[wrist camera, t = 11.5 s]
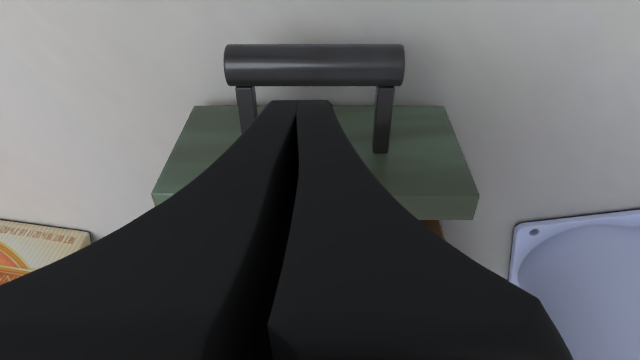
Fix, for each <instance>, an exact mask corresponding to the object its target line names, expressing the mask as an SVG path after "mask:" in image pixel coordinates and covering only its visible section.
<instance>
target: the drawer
mask: <svg viewBox="0 0 640 360" xmlns="http://www.w3.org/2000/svg"><path fill="white" fill-rule="evenodd" d="M404 70H405V51H404V47H403V45H402V44H229V45H227V46H226V47H225V51H224V73H225V78H226V81H227V84H228V85H229V86H236V88H235V90H236V97H237V104H238V106H194V108H193V110H192V112H191V114H190V116H189V118H188V120H187V122H186V124H185V126H184V128H183V130H182V132H181V134H180V136H179V138H178V140H177V142H176V144H175V146H174V148H173V150H172V152H171V154H170V156H169V158H168V160H167V162H166V164H165V167H164V169H163V171H162V173H161V175H160V177H159V179H158V181H157V183H156V185H155V187H154V189H153V191H152V193H151V195H152V198H153V201H154V204H155V207H156V206H157V205H159V204H161V203H162V202H164V201H165V200H167V199H168V198H170V197H171V196H172V195H174V194H175V193H177V192H178V191H179V190H181V189H182V188H183V187H185V186H186V185H187V184H189V183H190V182H191V181H193V180H194V179H195V178H196V177H198V176H199V175H200V174H201V173H202V172H204V171H205V170H206V169H207V168H208V167H209V166H210V165H211V164H212V163H214V162H215V161H216V160H217V159H218V158H219V157H220V156H221V155H222V154H223V153H224V152H225V151H226V150H227V149H228V148H229V147H230V146H231V145H232V144H233V143H234V142H235V141H236V140H237V139H238V138H239V137H240V136H241V135H242V133H243V132H244V131H245V130H246V129H247V128H248V127H249V126H250V125H251V123H252V122H253V121H254V120H255V119H256V118H257V117H258V115H259V114H260V113H261V112H262V111H263V109H264V108H265V107H266V106H257V103H256V94H255V86H376V96H375V106H333V109H334V112H335V115H336V117H337V119H338V121H339V123H340V125H341V127H342V129H343V131H344V133H345V134H346V136H347V138H348V139H349V141H350V142H351V144H352V146H353V147H354V149H355V150H356V152H357V153H358V155H359V156H360V157H361V159H362V160H363V162H364V163H365V164H366V166H367V167H368V168H369V169H370V171H371V172H372V173H373V174H374V176H375V177H376V178H377V179H378V180H379V182H380V183H381V184H382V185H383V186H384V187H385V188H386V189H387V190H388V191H389V193H390V194H391V195H392V196H393V197H394V198H395V199H396V200H397V201H398V202H399V203H400V204H401V205H402V206H403V207H405V208H406V209H407V210H408V211H409V212H410V213H411V214H412V215H413V216H415V217H416V218H417V219H418V220H419V221H421V222H422V223H423V224H424V225H426V226H427V227H428V228H429V229H430V230H432V231H433V232H434V233H435V234H437V235H438V236H439V237H441V238H442V239H443V240H445V238H444V234H443V231H442V227H441V223H440V220H473V217H474V214H475V210H476V207H477V203H478V199H479V193H478V190H477V188H476V185H475V183H474V180H473V178H472V175H471V173H470V170H469V168H468V165H467V163H466V161H465V158H464V156H463V153H462V151H461V148H460V146H459V143H458V141H457V138H456V136H455V133H454V131H453V128H452V126H451V123H450V121H449V118H448V116H447V113H446V111H445V108H444V107H443V106H393V100H394V91H395V88H394V86H401V85H402V82H403V78H404Z"/></svg>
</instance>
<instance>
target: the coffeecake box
mask: <svg viewBox="0 0 640 360" xmlns="http://www.w3.org/2000/svg"><path fill="white" fill-rule="evenodd" d="M90 244H91V240H90V234H89V233H88V232H83V231H77V230H69V229H62V228H55V227H47V226H40V225H33V224H26V223H19V222H11V221H4V220H0V285H2V284H4V283H7V282H9V281H11V280H14V279H16V278H18V277H21V276H23V275H25V274H28V273H30V272H32V271H35V270H37V269H39V268H42V267H44V266H46V265H49V264H51V263H53V262H55V261H57V260H60V259H62V258H64V257H66V256H68V255H70V254H72V253H74V252H76V251H78V250H80V249H82V248H84V247H86V246H88V245H90Z"/></svg>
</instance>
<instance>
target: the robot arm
mask: <svg viewBox="0 0 640 360" xmlns="http://www.w3.org/2000/svg"><path fill="white" fill-rule="evenodd" d="M533 229H535V230H533ZM531 230H532V231H531ZM0 360H640V210H632V211H623V212H614V213H606V214H597V215H588V216H580V217H571V218H562V219H553V220H545V221H536V222H527V223H521V224H519V225H517V226H516V227H515V229H514V234H513V243H512V252H511V261H510V270H509V279H508V281H507V280H506V279H504V278H502V277H501V276H499V275H497V274H495V273H494V272H492V271H490V270H488V269H487V268H485V267H483V266H482V265H480V264H478V263H477V262H475V261H474V260H472V259H471V258H469V257H468V256H466V255H465V254H463V253H462V252H460V251H459V250H458V249H456V248H455V247H453V246H452V245H450V244H449V243H447V242H446V241H445V240H443V239H442V238H441V237H439V236H438V235H437V234H435V233H434V232H433V231H432V230H430V229H429V228H428V227H427V226H426V225H424V224H423V223H422V222H421V221H419V220H418V219H417V218H416V217H415V216H413V215H412V214H411V213H410V212H409V211H408V210H407V209H406V208H405V207H403V206H402V205H401V204H400V203H399V202H398V201H397V200H396V199H395V198H394V197H393V196H392V195H391V194H390V193H389V191H388V190H387V189H386V188H385V187H384V186H383V185H382V184H381V183H380V182H379V180H378V179H377V178H376V177H375V176H374V174H373V173H372V172H371V171H370V169H369V168H368V167H367V166H366V164H365V163H364V162H363V160H362V159H361V157H360V156H359V155H358V153H357V152H356V150H355V149H354V147H353V146H352V144H351V142H350V141H349V139H348V138H347V136H346V134H345V133H344V131H343V129H342V127H341V125H340V123H339V121H338V119H337V117H336V115H335V112H334V109H333V105H332V104H331V103H330V102H329V101H328V100H279V101H271V102H270V103H269V104H268V105H267V106H266V107H265V108H264V109H263V111H262V112H261V113H260V114H259V115H258V117H257V118H256V119H255V120H254V121H253V122H252V123H251V125H250V126H249V127H248V128H247V129H246V130H245V131H244V132H243V133H242V135H241V136H240V137H239V138H238V139H237V140H236V141H235V142H234V143H233V144H232V145H231V146H230V147H229V148H228V149H227V150H226V151H225V152H224V153H223V154H222V155H221V156H220V157H219V158H218V159H217V160H216V161H215V162H214V163H212V164H211V165H210V166H209V167H208V168H207V169H206V170H205V171H204V172H202V173H201V174H200V175H199V176H198V177H196V178H195V179H194V180H193V181H191V182H190V183H189V184H187V185H186V186H185V187H183V188H182V189H181V190H179V191H178V192H177V193H175V194H174V195H172V196H171V197H170V198H168V199H167V200H165V201H164V202H162V203H161V204H159V205H157V206H156V207H154V208H153V209H151V210H149V211H148V212H146V213H145V214H143V215H141V216H140V217H138V218H137V219H135V220H133V221H132V222H130V223H129V224H127V225H125V226H124V227H122V228H120V229H118V230H116V231H115V232H113V233H111V234H109V235H107V236H105V237H103V238H102V239H100V240H98V241H96V242H94V243H92V244H90V245H88V246H86V247H84V248H82V249H80V250H78V251H76V252H74V253H72V254H70V255H68V256H66V257H64V258H62V259H60V260H57V261H55V262H53V263H51V264H49V265H46V266H44V267H42V268H39V269H37V270H35V271H32V272H30V273H28V274H25V275H23V276H21V277H18V278H16V279H14V280H11V281H9V282H7V283H4V284H2V285H0Z"/></svg>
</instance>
